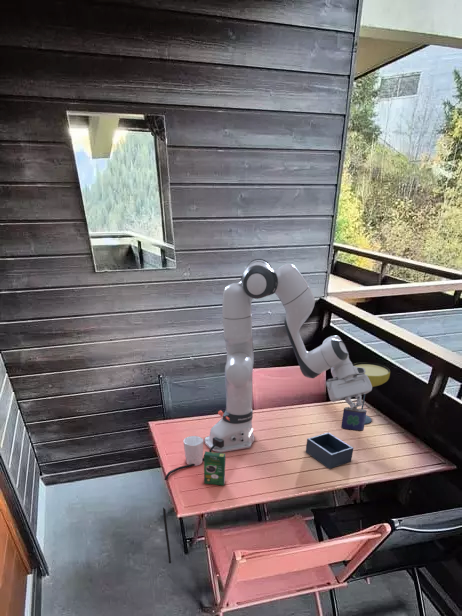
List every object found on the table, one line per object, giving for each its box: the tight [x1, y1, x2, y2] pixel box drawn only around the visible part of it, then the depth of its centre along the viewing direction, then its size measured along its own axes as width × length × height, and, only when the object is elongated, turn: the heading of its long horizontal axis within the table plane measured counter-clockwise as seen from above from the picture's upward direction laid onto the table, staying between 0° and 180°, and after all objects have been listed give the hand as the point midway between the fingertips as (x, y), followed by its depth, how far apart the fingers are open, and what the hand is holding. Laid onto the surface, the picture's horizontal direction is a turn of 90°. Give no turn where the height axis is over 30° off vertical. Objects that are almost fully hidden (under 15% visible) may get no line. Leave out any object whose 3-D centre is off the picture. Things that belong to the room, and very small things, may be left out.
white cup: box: [182, 435, 204, 467], centre depth 179 cm, size 8×8×10 cm
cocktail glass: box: [352, 362, 391, 425], centre depth 208 cm, size 18×18×25 cm
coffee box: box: [203, 451, 226, 486], centre depth 166 cm, size 8×3×13 cm, turn 80°
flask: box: [340, 404, 368, 432], centre depth 182 cm, size 9×3×11 cm, turn 70°
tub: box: [305, 432, 354, 470], centre depth 184 cm, size 12×16×6 cm
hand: (356, 406), depth 178 cm, fingers closed on flask, 2 cm apart
